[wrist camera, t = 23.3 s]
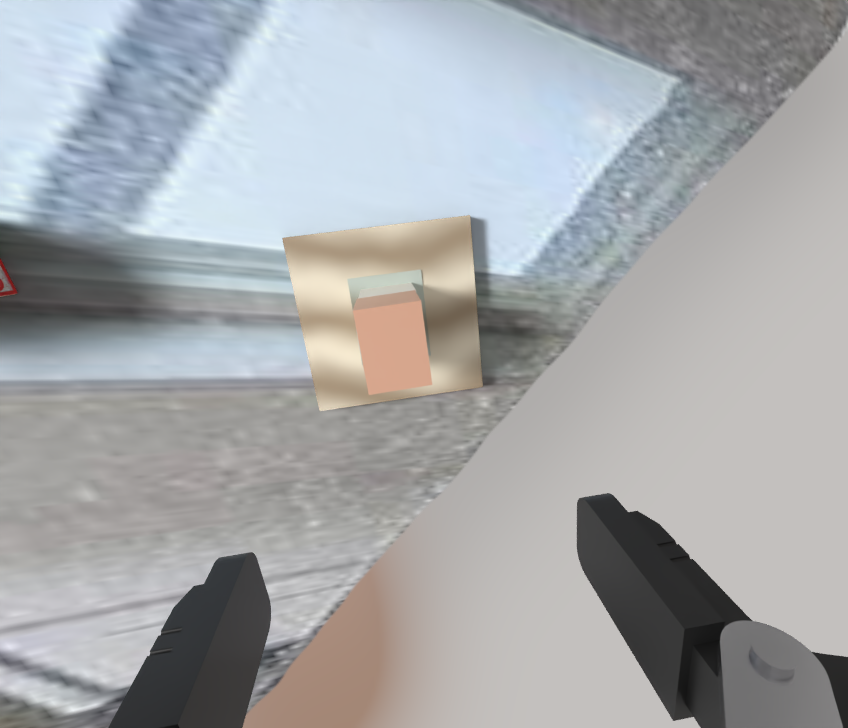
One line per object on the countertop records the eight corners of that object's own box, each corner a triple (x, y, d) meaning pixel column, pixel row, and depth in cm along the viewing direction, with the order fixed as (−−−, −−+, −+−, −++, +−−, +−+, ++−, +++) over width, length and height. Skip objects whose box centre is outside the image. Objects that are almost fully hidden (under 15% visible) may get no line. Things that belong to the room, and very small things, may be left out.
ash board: (286, 237, 35) (281, 238, 34) (466, 215, 36) (470, 215, 35) (321, 404, 41) (319, 411, 39) (479, 381, 42) (483, 387, 40)
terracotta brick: (356, 298, 31) (352, 310, 26) (414, 290, 31) (421, 300, 27) (370, 371, 33) (368, 395, 28) (424, 363, 33) (432, 384, 29)
